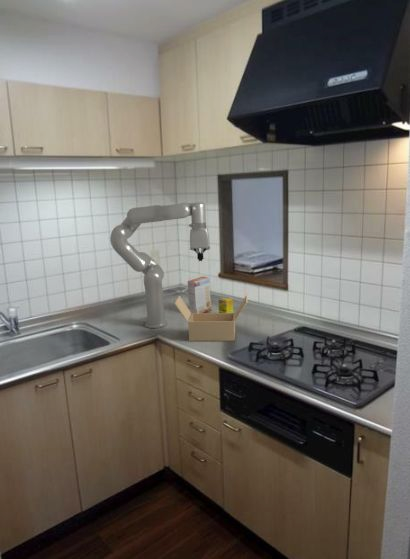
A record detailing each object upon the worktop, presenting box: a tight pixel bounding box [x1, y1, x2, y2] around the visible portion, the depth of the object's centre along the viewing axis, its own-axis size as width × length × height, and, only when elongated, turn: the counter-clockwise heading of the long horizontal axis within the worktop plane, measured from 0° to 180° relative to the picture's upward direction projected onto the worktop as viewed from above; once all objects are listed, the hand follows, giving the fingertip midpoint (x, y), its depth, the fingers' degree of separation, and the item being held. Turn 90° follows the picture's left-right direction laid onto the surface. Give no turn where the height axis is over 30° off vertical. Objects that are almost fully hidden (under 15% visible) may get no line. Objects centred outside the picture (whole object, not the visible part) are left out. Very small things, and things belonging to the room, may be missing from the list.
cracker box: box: [187, 276, 212, 316], centre depth 252 cm, size 14×6×21 cm, turn 141°
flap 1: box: [173, 295, 191, 322], centre depth 212 cm, size 11×14×1 cm
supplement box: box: [218, 297, 234, 313], centre depth 242 cm, size 6×6×11 cm
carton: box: [187, 312, 236, 343], centre depth 212 cm, size 22×14×10 cm, turn 84°
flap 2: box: [234, 294, 248, 322], centre depth 208 cm, size 11×14×1 cm
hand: (200, 260), depth 227 cm, fingers closed
